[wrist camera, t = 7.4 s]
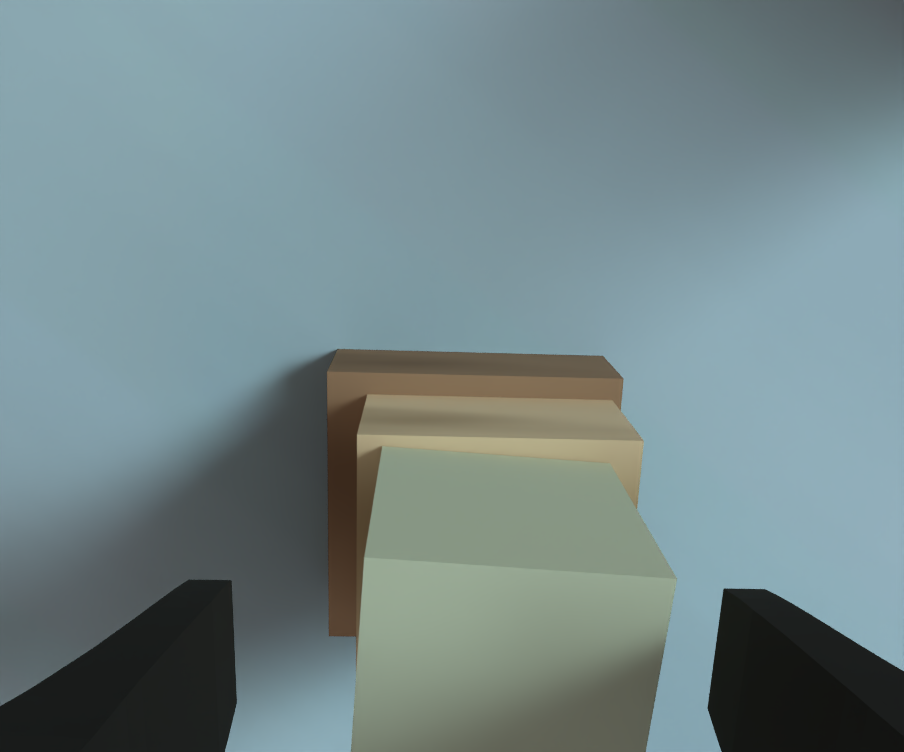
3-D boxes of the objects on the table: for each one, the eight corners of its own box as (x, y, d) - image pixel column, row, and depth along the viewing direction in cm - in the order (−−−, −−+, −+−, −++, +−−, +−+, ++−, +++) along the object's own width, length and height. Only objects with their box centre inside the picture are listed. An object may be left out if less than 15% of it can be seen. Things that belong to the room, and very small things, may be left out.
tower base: (579, 582, 20) (600, 639, 18) (340, 579, 20) (329, 635, 18) (598, 351, 19) (623, 378, 16) (340, 344, 19) (326, 371, 16)
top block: (579, 660, 15) (630, 833, 11) (368, 648, 15) (346, 817, 11) (610, 463, 14) (676, 579, 10) (382, 445, 14) (364, 557, 10)
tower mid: (593, 617, 18) (619, 689, 15) (365, 614, 18) (355, 686, 15) (612, 399, 17) (643, 441, 14) (367, 394, 16) (357, 434, 14)
